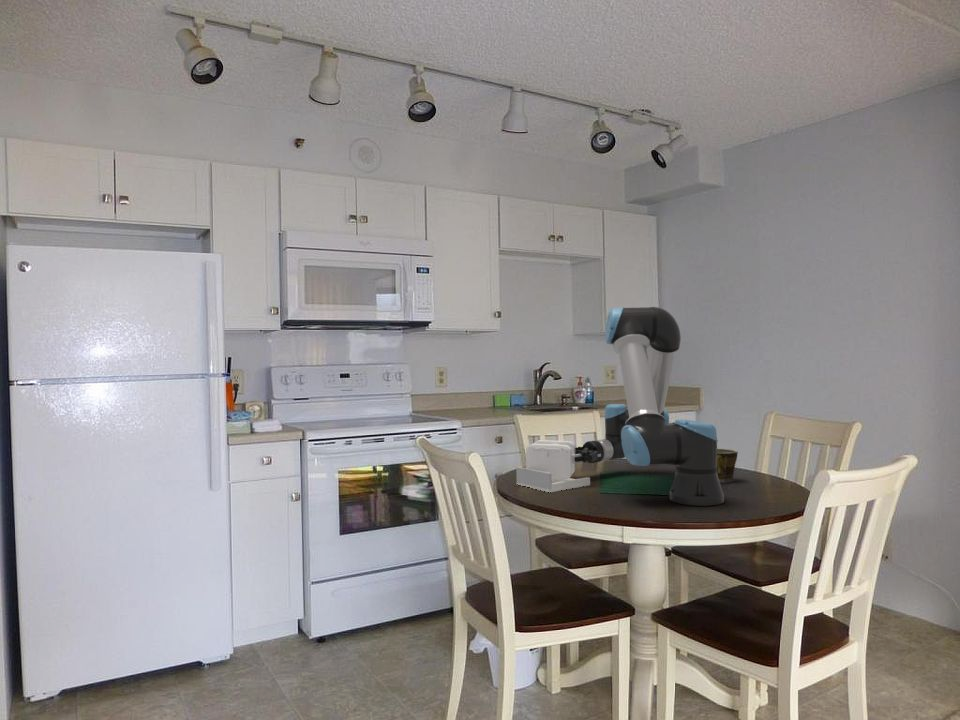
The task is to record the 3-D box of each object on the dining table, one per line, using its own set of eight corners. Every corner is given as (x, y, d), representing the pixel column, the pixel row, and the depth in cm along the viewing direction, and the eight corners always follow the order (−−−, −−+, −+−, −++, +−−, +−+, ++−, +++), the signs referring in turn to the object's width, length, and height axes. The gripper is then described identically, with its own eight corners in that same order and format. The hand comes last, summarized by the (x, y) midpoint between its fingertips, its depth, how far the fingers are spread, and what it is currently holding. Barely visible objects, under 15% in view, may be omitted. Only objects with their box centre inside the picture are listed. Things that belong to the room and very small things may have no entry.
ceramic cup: (708, 477, 237) (708, 448, 237) (739, 479, 233) (739, 449, 233) (702, 484, 226) (702, 453, 225) (735, 486, 221) (735, 455, 221)
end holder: (590, 485, 226) (589, 467, 226) (549, 492, 216) (549, 473, 216) (556, 478, 239) (556, 461, 239) (516, 485, 228) (516, 467, 228)
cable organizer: (578, 476, 229) (577, 441, 229) (570, 482, 219) (569, 445, 219) (534, 473, 235) (534, 439, 235) (525, 479, 225) (524, 443, 225)
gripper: (624, 466, 230) (578, 474, 217) (571, 457, 250) (527, 464, 237) (624, 444, 230) (578, 450, 217) (571, 437, 250) (526, 442, 237)
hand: (551, 457), depth 227 cm, fingers open, 13 cm apart
